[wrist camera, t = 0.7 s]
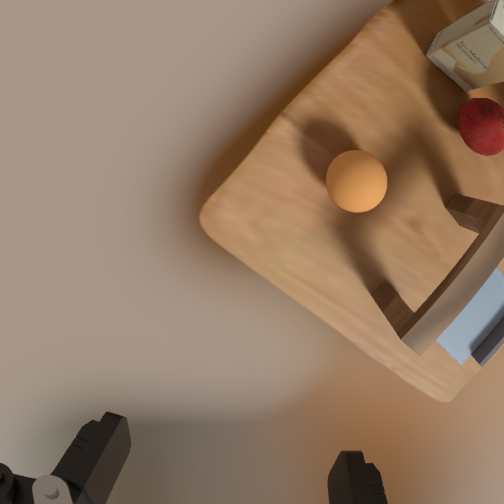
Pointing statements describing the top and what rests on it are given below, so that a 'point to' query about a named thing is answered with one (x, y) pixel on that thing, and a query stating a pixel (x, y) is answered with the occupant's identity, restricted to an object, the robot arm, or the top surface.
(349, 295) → the top surface
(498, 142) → the onion
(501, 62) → the skincare box
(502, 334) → the stopper strip
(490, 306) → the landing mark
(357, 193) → the ball
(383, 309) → the bridge
